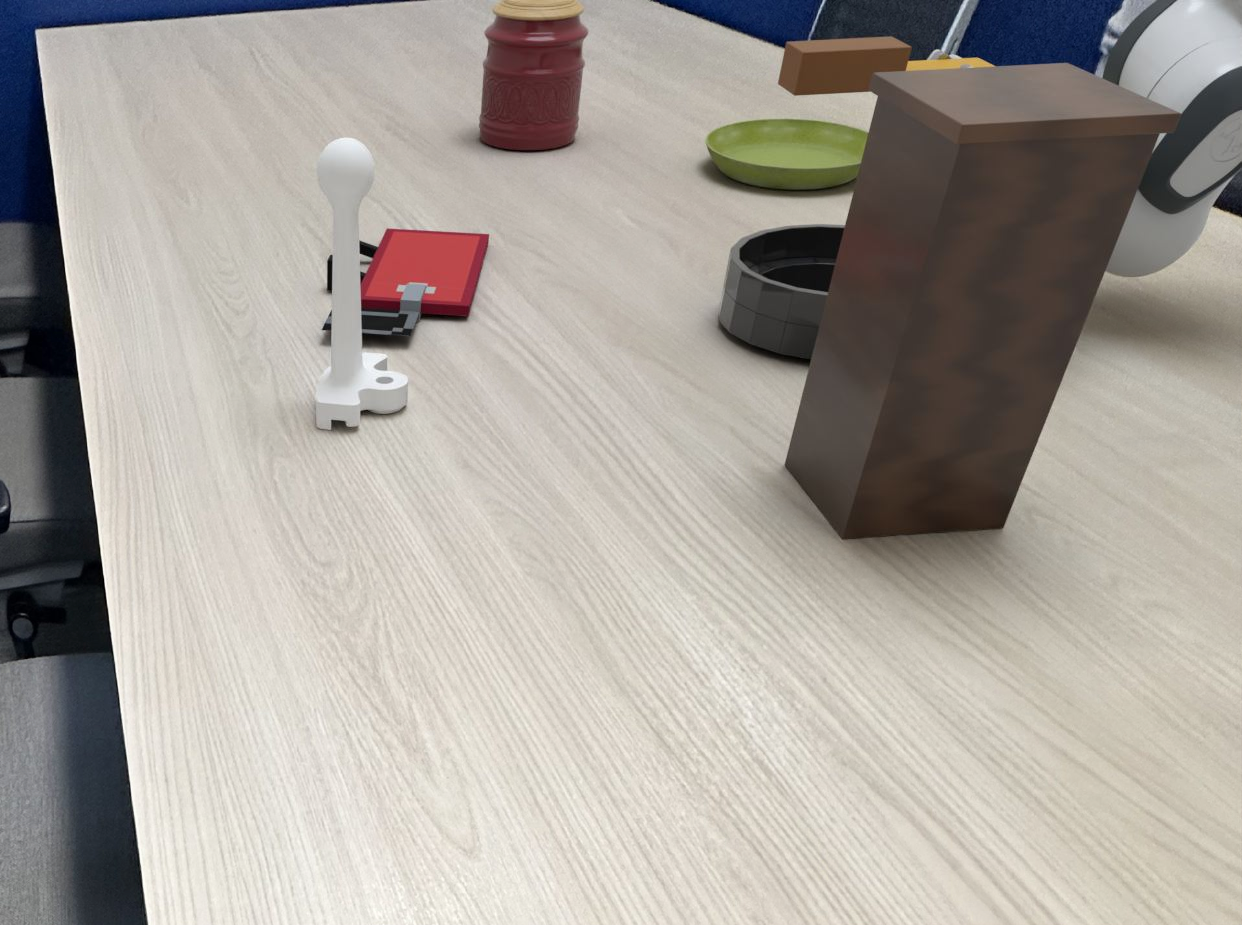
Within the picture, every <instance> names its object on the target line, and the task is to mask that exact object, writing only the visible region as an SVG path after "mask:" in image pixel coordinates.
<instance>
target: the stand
mask: <svg viewBox="0 0 1242 925" xmlns="http://www.w3.org/2000/svg"><path fill="white" fill-rule="evenodd" d="M994 66H995V67H975V68H955V69H935V70H915V71H896V72H876V73H873V74H872V78H871V82H870V86H869V91H871V92H870V93H872V94H874V95H876V96H877V98H876V102H875V106H874V109H873V114H872V118H871V121H870V124H869V129H868V132H869V133H868V137H867V141H866V145H865V149H864V153H863V157H862V160H861V164H860V168H859V172H858V176H857V177H856V180H855V184H854V188H853V193H852V196H851V201H850V204H849V208H848V212H847V216H846V220H845V223H844V225H845V228H844V232H843V236H842V240H841V243H840V247H839V251H838V255H837V259H836V263H835V267H834V271H833V275H832V279H831V283H830V287H829V291H828V295H827V299H826V303H825V307H824V311H823V315H822V319H821V322H820V326H819V330H818V334H817V338H816V342H815V346H814V350H813V354H812V358H811V359H810V362H809V366H808V371H807V375H806V378H805V382H804V385H803V389H802V393H801V399H800V402H799V406H798V410H797V414H796V417H795V421H794V424H793V429H792V433H791V437H790V442H789V445H788V449H787V452H786V453H787V454H786V457H785V461H784V467H785V468H787V470H788V471H789V473H791V475H792V476H793V477H794V479H795V480H796V482H797V483H798V484H799V485H800V486H801V488H802V489H803V491H804V492H805V493H806V494H807V495H808V497H809V498H810V500H811V501H812V502H813V503H814V505H815V506H816V507H817V508H818V510H819V511H820V512H821V514H822V515H823V516H824V518H825V519H826V520H827V521H828V522H829V524H830V525H831V526H832V528H833V529H834V530H835V532H836V533H837V534H838V535H839V537H840V538H841V539H842V540H845V539H847V540H848V539H860V538H875V537H876V538H877V537H889V536H890V537H891V536H904V535H905V536H906V535H920V534H921V535H922V534H936V533H951V532H967V531H980V530H981V531H982V530H995V529H996V530H997V529H998V530H999V529H1004V528H1005V526H1006V523H1007V520H1008V518H1009V515H1010V513H1011V511H1012V507H1013V505H1014V502H1015V500H1016V497H1017V495H1018V493H1019V490H1020V487H1021V485H1022V482H1023V480H1024V477H1025V475H1026V472H1027V469H1028V467H1029V464H1030V463H1031V460H1032V457H1033V455H1034V452H1035V450H1036V447H1037V444H1038V442H1039V439H1040V437H1041V434H1042V432H1043V430H1044V427H1045V424H1046V422H1047V419H1048V417H1049V414H1050V412H1051V409H1052V407H1053V404H1054V401H1055V399H1056V396H1057V394H1058V392H1059V389H1060V386H1061V384H1062V381H1063V379H1064V376H1065V374H1066V371H1067V369H1068V366H1069V364H1070V361H1071V358H1072V356H1073V353H1074V351H1075V348H1076V346H1077V344H1078V341H1079V338H1080V337H1081V334H1082V331H1083V329H1084V326H1085V323H1086V321H1087V318H1088V316H1089V313H1090V311H1091V308H1092V306H1093V304H1094V301H1095V299H1096V296H1097V294H1098V290H1099V288H1100V285H1101V283H1102V281H1103V278H1104V275H1105V273H1106V271H1105V270H1106V268H1107V265H1108V263H1109V260H1110V258H1111V255H1112V253H1113V250H1114V248H1115V245H1116V243H1117V240H1118V238H1119V235H1120V233H1121V230H1122V228H1123V225H1124V223H1125V220H1126V218H1127V215H1128V212H1129V210H1130V207H1131V205H1132V202H1133V200H1134V197H1135V195H1136V192H1137V190H1138V187H1139V185H1140V182H1141V180H1142V177H1143V175H1144V172H1145V170H1146V167H1147V165H1148V162H1149V160H1150V157H1151V154H1152V152H1153V149H1154V147H1155V144H1156V142H1157V139H1158V137H1159V134H1161V133H1173V132H1174V131H1175V128H1176V126H1177V123H1178V121H1179V118H1180V116H1181V113H1179V112H1177V111H1175V110H1172V109H1170V108H1168V107H1166V106H1163V105H1161V104H1159V103H1157V102H1154V101H1152V100H1150V99H1148V98H1145V97H1143V96H1141V95H1139V94H1136V93H1134V92H1132V91H1130V90H1127V89H1125V88H1123V87H1121V86H1118V85H1116V84H1114V83H1112V82H1109V81H1107V80H1105V79H1103V77H1100V76H1098V75H1096V74H1093V73H1091V72H1089V71H1086V70H1085V69H1082V68H1080V67H1078V66H1075V65H1073V64H1070V62H1055V63H1035V64H1018V65H1014V64H1013V65H997V66H996V65H994Z"/></svg>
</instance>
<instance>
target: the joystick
mask: <svg viewBox="0 0 1242 925" xmlns="http://www.w3.org/2000/svg"><path fill="white" fill-rule="evenodd" d="M316 166H317V167H316V178H317V183H318V186H319V188H320V190H321V192H322V193H323V195H324V196H325V197H326V199H327V200H328V202H329V204H330V206H331V211H332V255H333V264H332V291H331V310H332V329H331V331H330V332H331V335H330V336H331V337H330V338H331V339H330V344H331V345H330V365H328V367H327V368H325V370H324V371H323V372H322V373H321V375H320V377H319V379H318V380H317V384H316V386H315V387H316V388H315V422H316V428H318V429H319V430H328V431H332V421H343V422H344V423H345V426H346V427H349V428H350V427H351V428H353V427H354V428H355V427H358V426H360V425H361V411H366V410H368V411H369V412H371V413H374V414H379V415H388V414H393V413H397V412H399V411H400V410H402V408H404V407H405V406H406V405H407V404H408V401H409V400H408V399H409V377H408V376H407V375H406V374H403V373H401V372H398V371H393V370H388V355H387V354H384V353H376V352H365V351H363V333H362V324H361V286H360V271H361V256H360V255H361V254H360V248H359V240H360V217H359V215H360V214H359V213H360V206H361V203H362V201H363V199H364V198H365V197H366V196H367V194H368V193H369V192H370V191H371V188H372V187H373V184H374V181H375V180H374V179H375V171H376V170H375V168H376V167H375V162H374V159H373V156H372V154H371V152H370V150H369V149H368V148H367V147H366V145H365V144H364V143H362V142H361V141H359V139H355V138H353V137H340V138H337V139H334V140H333V141H331V142H329V143H328V144H327V145H326V147H324V149H323V150H322V151H321V153H320V156H319V158H318V161H317V165H316Z"/></svg>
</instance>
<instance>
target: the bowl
mask: <svg viewBox="0 0 1242 925" xmlns="http://www.w3.org/2000/svg"><path fill="white" fill-rule="evenodd" d="M844 228H845V224H829V223H827V224H826V223H813V224H812V223H811V224H796V225H784V226H778V227H772V228H767V229H762V230H758V231H756V232H753V233H751V234H748V235H746V236H743V237H742V238H740V239H739V240H737V242H735V244H734V245H733V246H732V247H730V250H729V256H728V261H727V264H726V271H725V275H724V279H723V280H724V281H723V287H722V291H721V295H720V302H719V306H718V307H719V308H718V321H719V322H720V324H721V325H722V326H723V327H724V328H725V329H726V331H727V332H728V333H729V334H731V335H733V336H734V337H737V339H740V340H742V341H744V342H745V343H747V344H749V345H752V346H754V347H757V348H760V349H764V350H767V351H770V352H774V353H776V354H779V355H784V356H790V357H795V358H800V359H805V360H811V358H812V354H813V350H814V346H815V342H816V338H817V334H818V330H819V326H820V322H821V319H822V315H823V311H824V307H825V303H826V299H827V295H828V291H829V287H830V283H831V279H832V275H833V271H834V267H835V263H836V259H837V255H838V251H839V247H840V243H841V240H842V236H843V232H844Z"/></svg>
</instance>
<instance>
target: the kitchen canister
mask: <svg viewBox="0 0 1242 925" xmlns="http://www.w3.org/2000/svg"><path fill="white" fill-rule="evenodd" d="M584 11H585V6H584V5H583V4H582V3H581V2H579V1H578V0H501V1H499V2H498V3H495V5H493V7H492V14H494V15H495V17H494V20H493V22H492V23H490V24H489V25H488V26H486V28H485V29H484V31H483V32H484V33H483V34H484V37H485V38H486V40H487V50H486V57H485V58H484V60H483V61H482V68H483V72H482V91H481V107H480V114H479V117H478V120H479V122H478V129H479V139H480V140H481V141H482V142H483V143H485V144H486V145H489V146H491V147H495V148H499V149H503V150H504V149H506V150H510V151H511V150H513V151H514V150H515V151H543V150H551V149H557V148H561V147H565V146H567V145H570V144H571V143H573V141H574V140H575V139H576V135H577V131H578V128H579V121H580V115H579V110H580V100H581V93H582V83H583V73H584V68H585V65H586V61H585V59H584V58H583V50H584V49H583V48H584V47H583V46H584V40H586V38H587V37H588V35H589V32H590V31H589V28H588V27H587V26H586V25H585V24H584V23H583V22H582V20H581V15H582V14H583V13H584Z"/></svg>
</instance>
